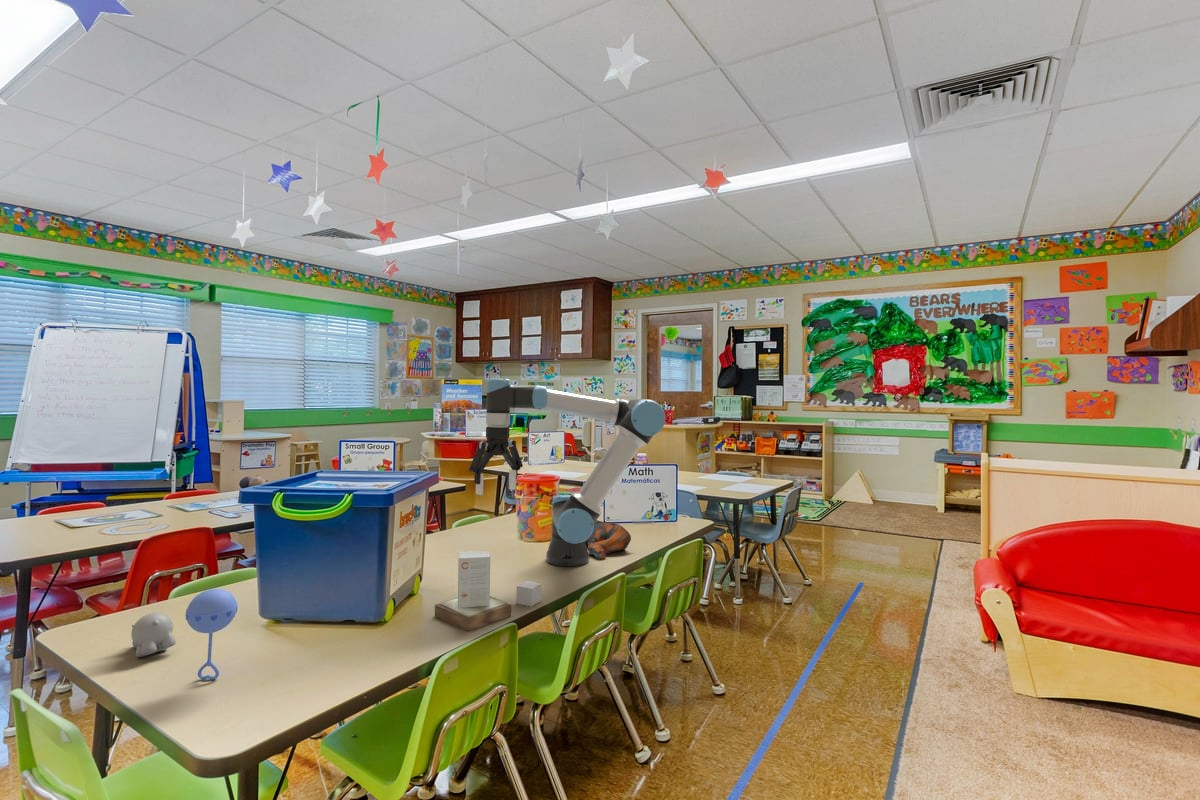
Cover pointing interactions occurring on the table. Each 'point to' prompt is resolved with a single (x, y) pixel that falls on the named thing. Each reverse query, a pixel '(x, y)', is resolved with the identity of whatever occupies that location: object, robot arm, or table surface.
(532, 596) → the grey cube
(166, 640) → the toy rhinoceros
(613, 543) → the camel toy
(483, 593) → the small box
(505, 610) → the stand
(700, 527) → the table surface
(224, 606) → the baby rattle
